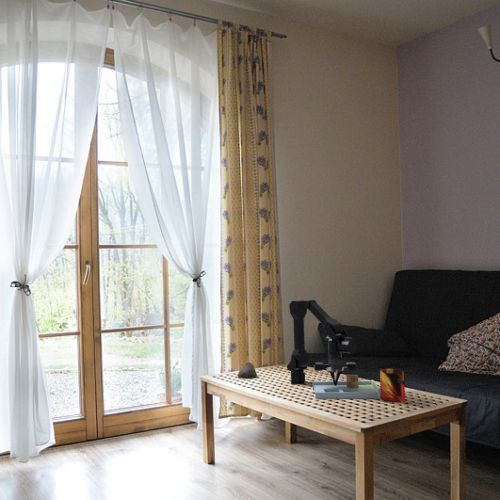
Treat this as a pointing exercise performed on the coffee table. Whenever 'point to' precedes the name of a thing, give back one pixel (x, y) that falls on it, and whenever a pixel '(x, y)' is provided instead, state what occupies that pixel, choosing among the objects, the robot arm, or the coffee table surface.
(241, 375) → the stone
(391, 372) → the mug
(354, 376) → the block
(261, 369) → the coffee table surface
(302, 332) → the robot arm
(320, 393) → the trap box
